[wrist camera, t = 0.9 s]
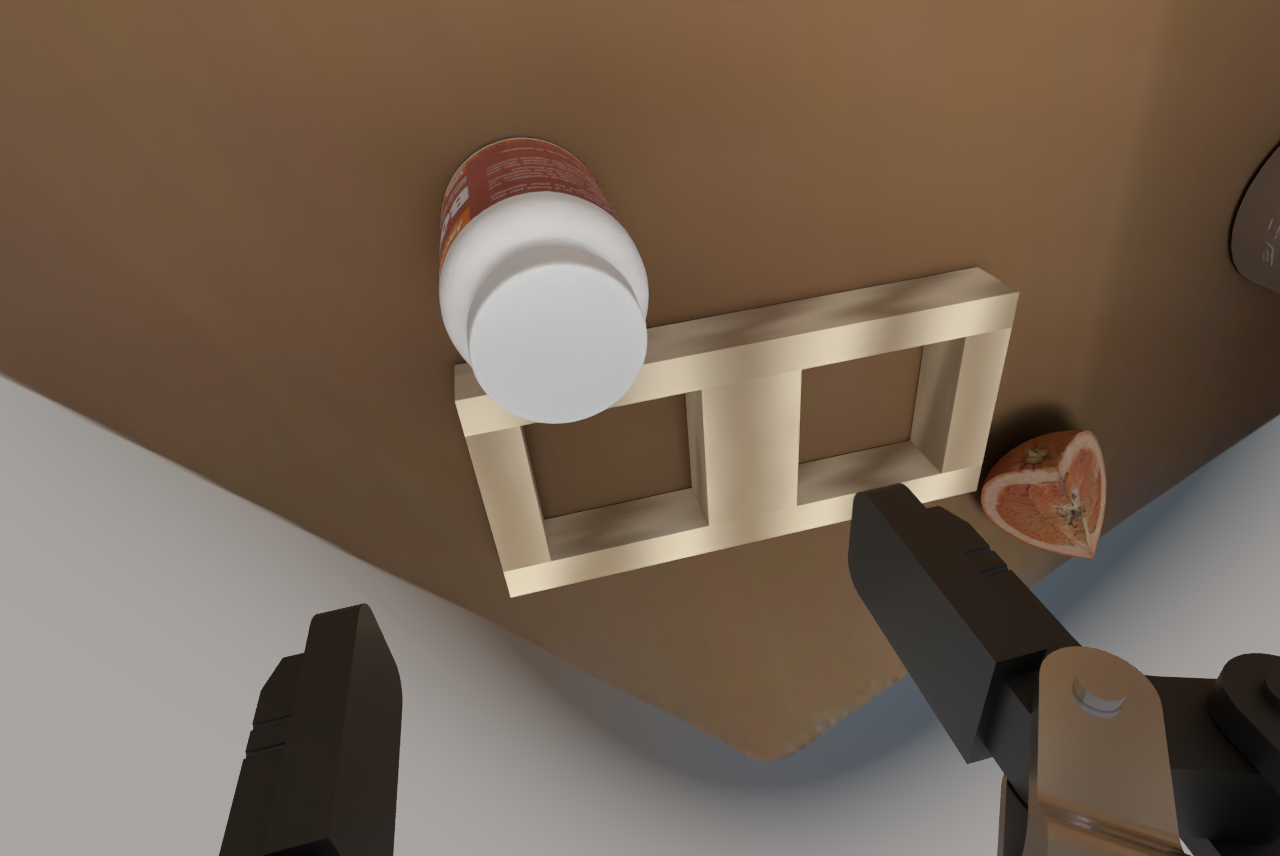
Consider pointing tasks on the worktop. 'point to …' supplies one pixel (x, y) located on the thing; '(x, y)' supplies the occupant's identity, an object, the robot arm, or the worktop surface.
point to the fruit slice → (1050, 493)
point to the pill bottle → (540, 283)
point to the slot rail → (759, 428)
